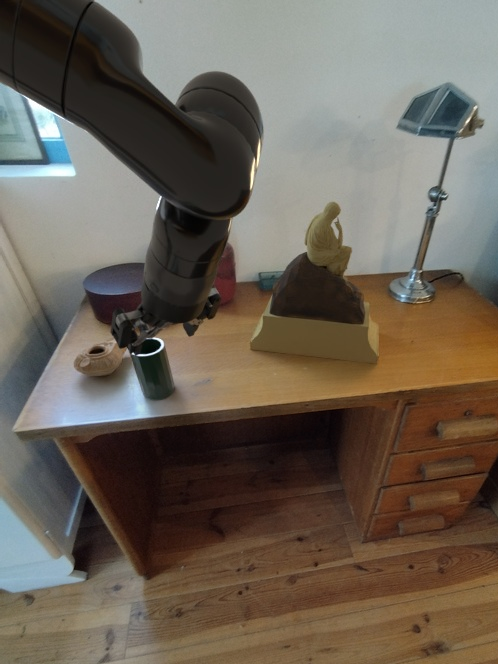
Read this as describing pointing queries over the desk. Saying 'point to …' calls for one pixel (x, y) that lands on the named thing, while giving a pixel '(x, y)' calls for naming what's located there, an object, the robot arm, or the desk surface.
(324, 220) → the seated thinker statue
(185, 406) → the desk surface
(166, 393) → the pot
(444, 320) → the desk surface
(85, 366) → the pottery oil lamp
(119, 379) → the desk surface
